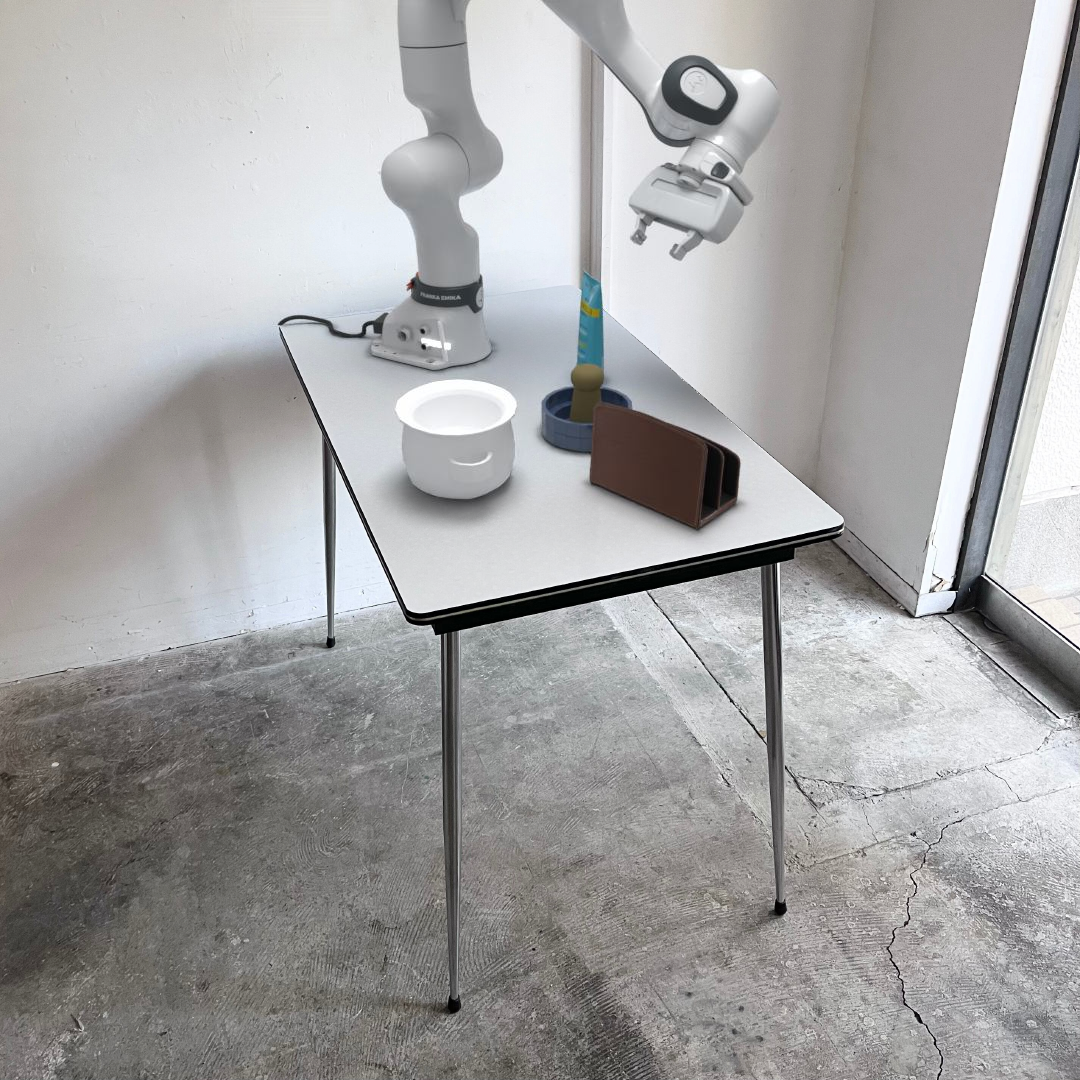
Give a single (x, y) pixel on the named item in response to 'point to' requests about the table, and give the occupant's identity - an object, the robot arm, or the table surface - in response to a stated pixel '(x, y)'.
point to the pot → (457, 437)
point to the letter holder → (662, 465)
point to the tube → (591, 323)
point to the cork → (585, 392)
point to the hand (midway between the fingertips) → (654, 249)
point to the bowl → (558, 415)
